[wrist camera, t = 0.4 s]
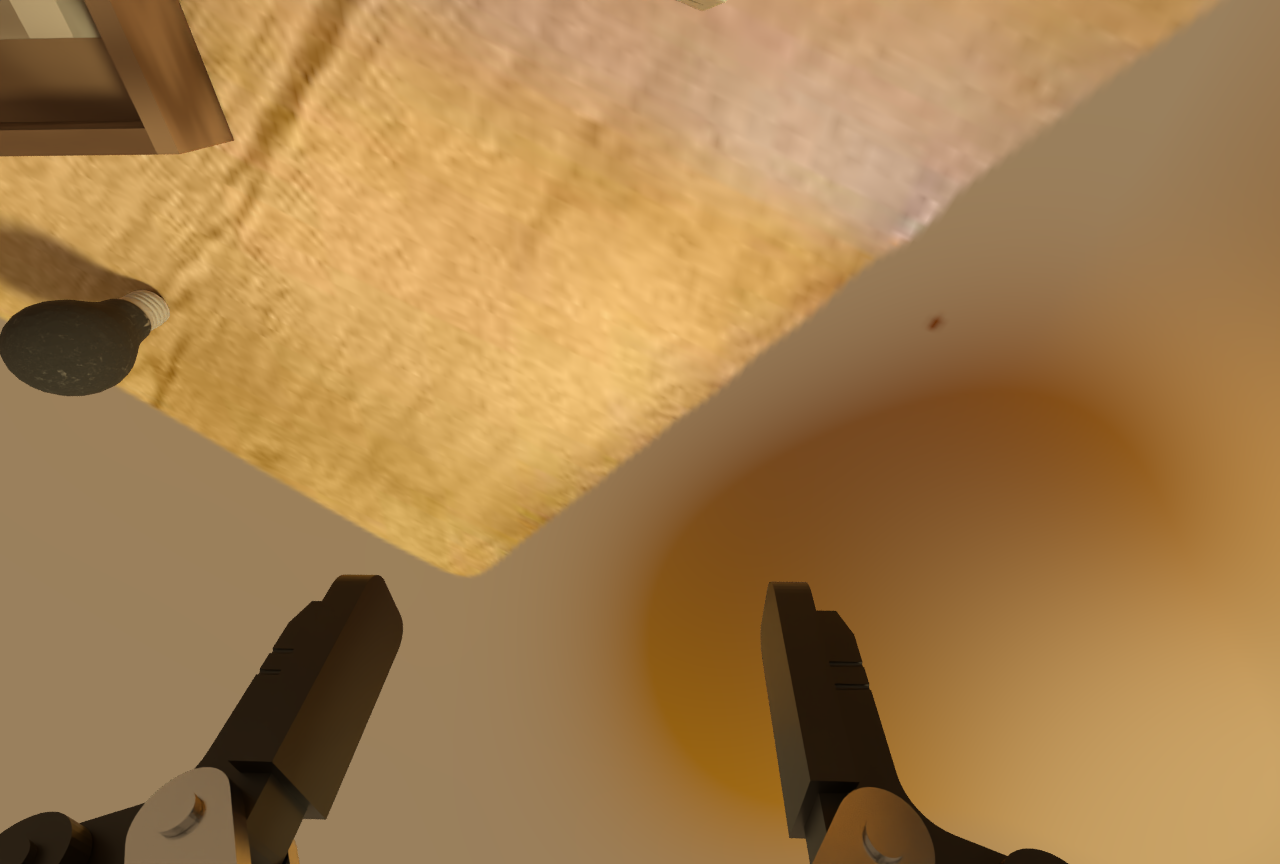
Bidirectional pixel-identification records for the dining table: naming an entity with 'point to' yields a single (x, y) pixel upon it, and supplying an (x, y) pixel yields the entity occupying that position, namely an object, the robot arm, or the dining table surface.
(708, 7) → the supplement box
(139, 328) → the light bulb
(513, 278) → the dining table surface
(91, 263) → the dining table surface
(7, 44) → the box
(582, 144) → the dining table surface
